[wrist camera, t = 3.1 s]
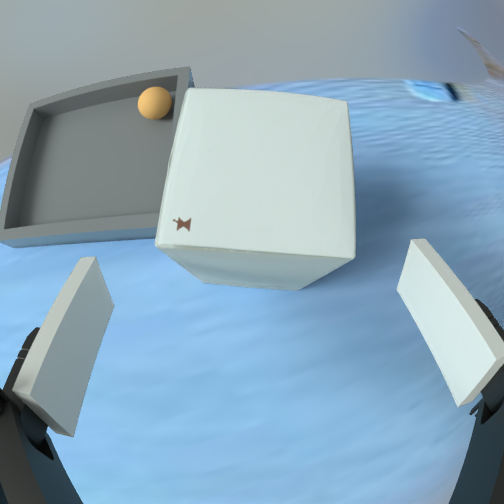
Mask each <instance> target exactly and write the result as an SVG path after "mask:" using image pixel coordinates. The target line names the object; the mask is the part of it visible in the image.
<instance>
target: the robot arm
mask: <svg viewBox="0 0 504 504" xmlns="http://www.w3.org/2000/svg"><path fill="white" fill-rule="evenodd" d="M397 291H398V292H399V294H400V296H401V298H402V299H403V301H404V303H405V304H406V306H407V308H408V310H409V311H410V313H411V315H412V317H413V319H414V320H415V322H416V324H417V326H418V328H419V329H420V331H421V333H422V335H423V337H424V339H425V341H426V343H427V344H428V346H429V348H430V350H431V352H432V354H433V356H434V358H435V360H436V362H437V364H438V366H439V368H440V370H441V372H442V374H443V376H444V378H445V381H446V383H447V385H448V387H449V389H450V391H451V393H452V396H453V398H454V400H455V402H456V405H457V407H459V406H462V405H464V404H467V403H469V402H472V401H473V400H474V399H475V398H476V397H477V395H478V394H479V393H480V392H481V394H482V396H483V398H482V399H481V400H480V401H479V402H478V403H477V405H476V406H475V407H474V408H473V409H472V410H471V412H470V415H472V414H473V413H474V412H475V411H476V410H477V409H478V412H477V414H476V415H475V417H476V421H475V425H474V429H473V433H472V437H471V441H470V444H469V448H468V451H467V454H466V458H465V461H464V464H463V467H462V470H461V473H460V476H459V478H458V481H457V484H456V487H455V489H454V492H453V494H452V497H451V499H450V502H449V504H504V330H503V329H502V327H501V326H499V323H498V322H497V320H496V319H495V318H494V316H493V315H492V313H491V312H490V310H489V309H488V308H487V306H485V305H484V304H483V303H482V302H481V301H479V300H478V299H474V298H473V297H472V296H471V294H470V293H469V292H468V290H467V289H466V288H465V286H464V285H463V284H462V283H461V281H460V280H459V279H458V277H457V276H456V275H455V274H454V272H453V271H452V270H451V269H450V267H449V266H448V265H447V264H446V263H445V261H444V260H443V259H442V258H441V257H440V255H439V254H438V253H437V252H436V251H435V250H434V248H433V247H432V246H431V245H430V244H429V243H428V242H427V240H426V239H411V242H410V245H409V249H408V253H407V256H406V260H405V263H404V267H403V270H402V274H401V277H400V280H399V283H398V286H397ZM113 309H114V304H113V301H112V299H111V296H110V294H109V291H108V288H107V286H106V283H105V280H104V278H103V275H102V272H101V269H100V267H99V264H98V261H97V258H96V257H81V258H80V260H79V261H78V263H77V264H76V266H75V268H74V269H73V271H72V272H71V274H70V276H69V277H68V279H67V281H66V282H65V284H64V286H63V288H62V289H61V291H60V293H59V294H58V296H57V298H56V300H55V302H54V303H53V305H52V307H51V309H50V311H49V313H48V314H47V316H46V318H45V320H44V322H43V324H42V326H41V328H38V327H36V328H35V329H34V330H33V331H32V332H31V333H30V334H29V335H28V336H27V338H26V340H25V342H24V344H23V346H22V350H20V352H19V354H18V356H17V357H18V359H16V361H15V363H14V365H13V367H12V369H11V372H10V374H9V376H8V378H7V381H6V383H5V385H4V388H3V390H2V389H1V388H0V504H83V502H82V501H81V499H80V497H79V495H78V494H77V492H76V490H75V488H74V486H73V485H72V483H71V481H70V479H69V477H68V475H67V473H66V471H65V469H64V467H63V465H62V463H61V461H60V459H59V457H58V454H57V452H56V450H55V448H54V445H53V443H52V441H51V438H50V437H49V435H48V434H47V433H46V431H47V427H48V426H49V427H50V428H51V429H52V430H53V431H54V432H56V433H57V434H62V435H66V436H70V437H74V434H75V430H76V426H77V422H78V418H79V414H80V410H81V407H82V403H83V399H84V396H85V392H86V389H87V386H88V382H89V379H90V376H91V372H92V369H93V366H94V363H95V360H96V357H97V354H98V351H99V348H100V345H101V342H102V339H103V336H104V333H105V331H106V328H107V325H108V322H109V320H110V317H111V314H112V312H113Z"/></svg>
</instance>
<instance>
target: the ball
mask: <svg viewBox="0 0 504 504" xmlns="http://www.w3.org/2000/svg"><path fill="white" fill-rule="evenodd" d="M171 105H172V98H171V95H170V94H169V92H168V91H167V90H166V89H164V88H162V87H151V88H148V89H146V90H145V91H144V92H143V93H142V94H141V95H140V97H139V100H138V109H139V111H140V113H141V114H142V115H143V116H144V117H145V118H147V119H151V120H156V119H160V118H162V117H164V116H165V115H166V114H167V113H168V112H169V110H170V108H171Z"/></svg>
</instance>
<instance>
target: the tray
mask: <svg viewBox="0 0 504 504" xmlns="http://www.w3.org/2000/svg"><path fill="white" fill-rule="evenodd" d="M151 87H162V88H164V89H166V90H167V91H168V92H169V94H170V95H171V98H172V105H171V108H170V110H169V112H168V113H167V114H166V115H165V116H164V117H162V118H160V119H156V120H151V119H147V118H145V117H144V116H143V115H142V114H141V113H140V111H139V109H138V100H139V97H140V95H141V94H142V93H143V92H144V91H145V90H146V89H148V88H151ZM189 88H195V87H194V82H193V78H192V73H191V69H190V67H182V68H174V69H166V70H160V71H153V72H147V73H142V74H136V75H131V76H126V77H121V78H117V79H112V80H108V81H104V82H99V83H96V84H91V85H88V86H84V87H80V88H77V89H73V90H70V91H67V92H63V93H60V94H57V95H54V96H51V97H48V98H45V99H42V100H40V101H36V102H34V103H31V104H30V105H29V108H28V110H27V113H26V116H25V119H24V121H23V124H22V127H21V130H20V133H19V136H18V140H17V143H16V146H15V149H14V153H13V157H12V160H11V164H10V168H9V172H8V176H7V180H6V185H5V189H4V194H3V199H2V204H1V210H0V243H2V244H5V245H8V246H11V247H13V248H23V247H35V246H48V245H62V244H75V243H90V242H105V241H120V240H136V239H153V238H156V233H157V228H158V222H159V216H160V210H161V204H162V198H163V193H164V187H165V182H166V177H167V171H168V163H169V159H170V155H171V151H172V147H173V143H174V138H175V134H176V129H177V125H178V121H179V117H180V113H181V108H182V104H183V101H184V97H185V93H186V91H187V90H188V89H189Z"/></svg>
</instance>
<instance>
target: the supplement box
mask: <svg viewBox="0 0 504 504" xmlns="http://www.w3.org/2000/svg"><path fill="white" fill-rule="evenodd" d="M155 246H156V247H157V248H158V249H159V250H161V251H162V252H163V253H165V254H166V255H167V256H169V257H170V258H171V259H172V260H174V261H175V262H176V263H178V264H179V265H180V266H182V267H183V268H184V269H186V270H187V271H188V272H190V273H191V274H192V275H193V276H195V277H196V278H198V279H199V280H200V281H201V282H203V283H209V284H219V285H230V286H239V287H250V288H264V289H276V290H292V291H298V290H300V289H302V288H304V287H305V286H307V285H309V284H311V283H313V282H314V281H316V280H318V279H320V278H322V277H323V276H325V275H327V274H328V273H330V272H332V271H334V270H335V269H337V268H339V267H341V266H342V265H344V264H346V263H348V262H349V261H351V260H353V259H354V258H355V256H356V204H355V181H354V163H353V149H352V138H351V128H350V119H349V111H348V103H347V102H346V101H343V100H337V99H331V98H325V97H318V96H311V95H303V94H295V93H286V92H275V91H261V90H242V89H226V88H189V89H188V90H187V91H186V93H185V97H184V101H183V104H182V108H181V113H180V117H179V121H178V125H177V129H176V134H175V138H174V143H173V147H172V151H171V155H170V159H169V163H168V171H167V177H166V182H165V187H164V193H163V198H162V204H161V210H160V216H159V222H158V228H157V233H156V238H155Z"/></svg>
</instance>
